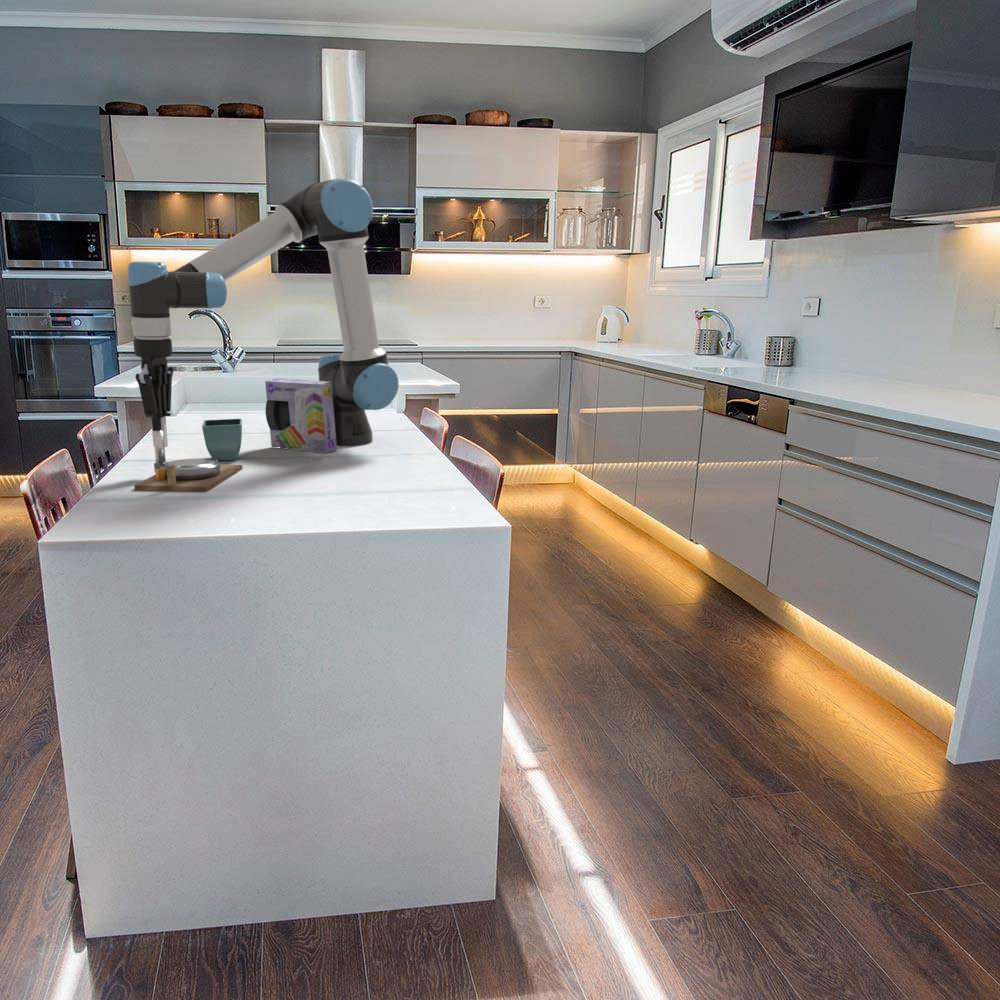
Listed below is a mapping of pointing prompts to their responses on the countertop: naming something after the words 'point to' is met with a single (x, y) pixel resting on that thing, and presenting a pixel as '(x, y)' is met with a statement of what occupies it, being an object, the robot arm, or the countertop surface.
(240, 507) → the countertop surface
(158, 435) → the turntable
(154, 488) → the base
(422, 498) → the countertop surface
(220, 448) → the flower pot
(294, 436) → the cake pan box
